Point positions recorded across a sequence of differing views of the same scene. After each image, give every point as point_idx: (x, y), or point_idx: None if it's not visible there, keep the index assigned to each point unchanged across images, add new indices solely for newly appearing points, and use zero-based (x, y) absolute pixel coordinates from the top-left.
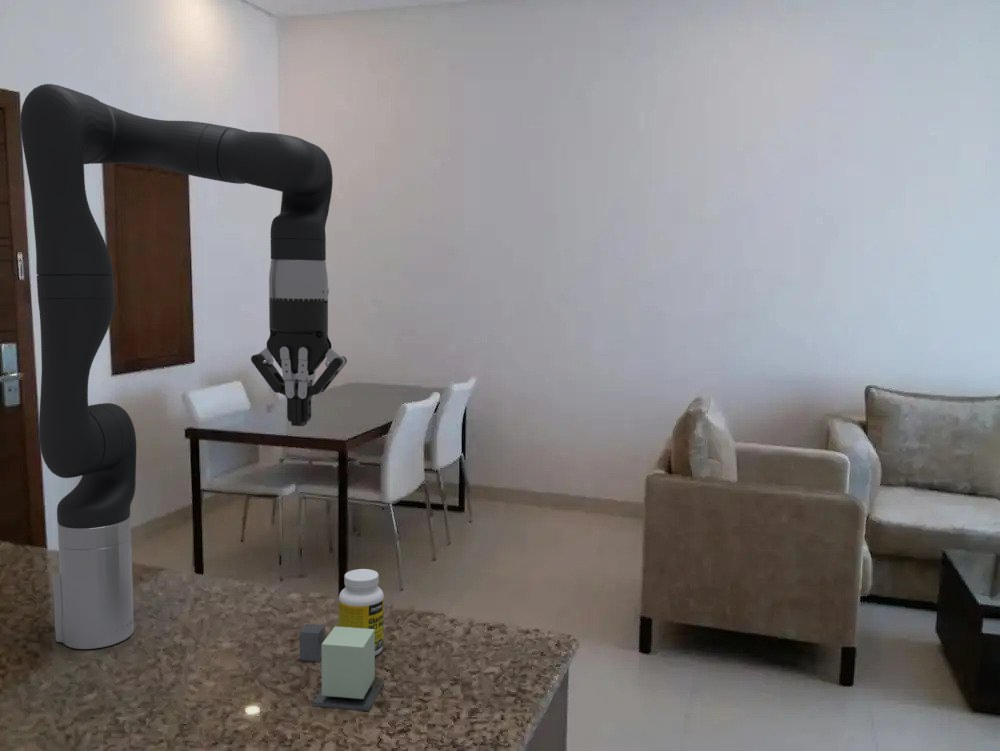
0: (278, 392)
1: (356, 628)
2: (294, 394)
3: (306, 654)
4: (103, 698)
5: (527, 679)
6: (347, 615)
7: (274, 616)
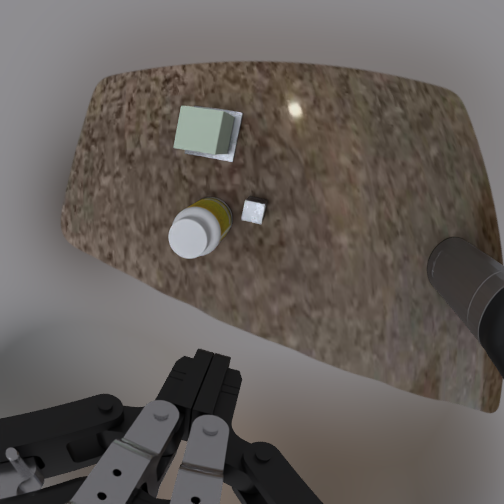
0: (258, 442)
1: (191, 149)
2: (193, 422)
3: (260, 199)
4: (423, 145)
5: (83, 165)
6: (211, 208)
7: (306, 297)
